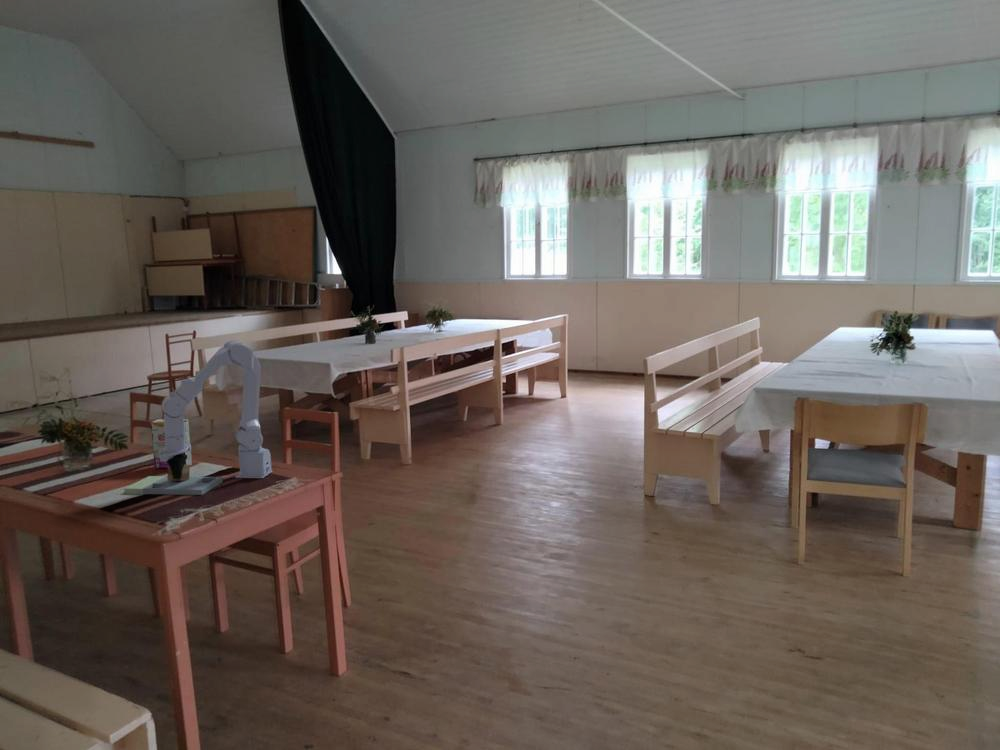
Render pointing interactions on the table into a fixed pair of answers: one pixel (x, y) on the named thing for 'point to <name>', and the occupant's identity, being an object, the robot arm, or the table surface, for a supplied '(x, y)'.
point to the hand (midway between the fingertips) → (177, 478)
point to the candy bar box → (159, 443)
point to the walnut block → (184, 473)
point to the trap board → (173, 485)
